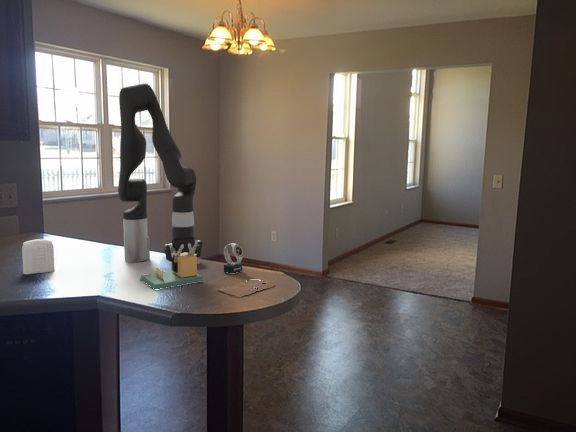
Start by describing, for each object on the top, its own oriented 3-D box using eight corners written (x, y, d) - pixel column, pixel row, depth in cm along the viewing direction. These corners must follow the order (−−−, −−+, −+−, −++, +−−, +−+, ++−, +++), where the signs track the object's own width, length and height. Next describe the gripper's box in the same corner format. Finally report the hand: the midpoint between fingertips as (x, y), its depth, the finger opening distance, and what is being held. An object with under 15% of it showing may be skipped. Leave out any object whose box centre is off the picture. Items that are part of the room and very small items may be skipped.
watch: (236, 275, 176) (236, 246, 174) (220, 271, 181) (220, 243, 179) (246, 272, 181) (246, 243, 179) (230, 268, 185) (230, 241, 183)
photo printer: (53, 269, 180) (52, 237, 178) (55, 271, 177) (53, 239, 175) (22, 272, 175) (20, 239, 173) (24, 275, 171) (21, 241, 169)
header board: (186, 273, 178) (186, 260, 177) (202, 282, 167) (202, 268, 166) (141, 280, 168) (141, 266, 167) (155, 290, 157) (155, 275, 156)
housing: (185, 269, 175) (185, 251, 174) (196, 274, 168) (196, 256, 167) (171, 271, 172) (171, 253, 171) (181, 277, 164) (181, 258, 163)
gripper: (197, 220, 174) (197, 265, 177) (159, 224, 166) (160, 271, 168) (206, 223, 168) (207, 270, 171) (167, 227, 160) (168, 276, 162)
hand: (183, 270), depth 170 cm, fingers closed on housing, 5 cm apart
